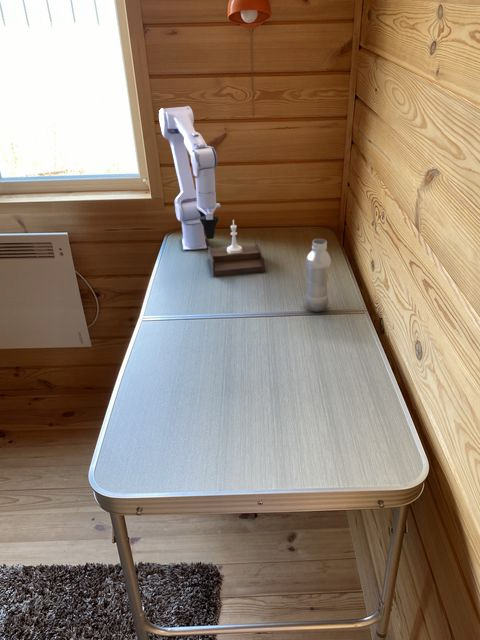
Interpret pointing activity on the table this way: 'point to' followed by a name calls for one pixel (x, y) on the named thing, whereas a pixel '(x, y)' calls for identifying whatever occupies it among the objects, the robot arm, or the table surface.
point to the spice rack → (236, 261)
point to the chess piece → (234, 241)
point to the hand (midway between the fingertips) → (208, 233)
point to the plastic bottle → (317, 276)
